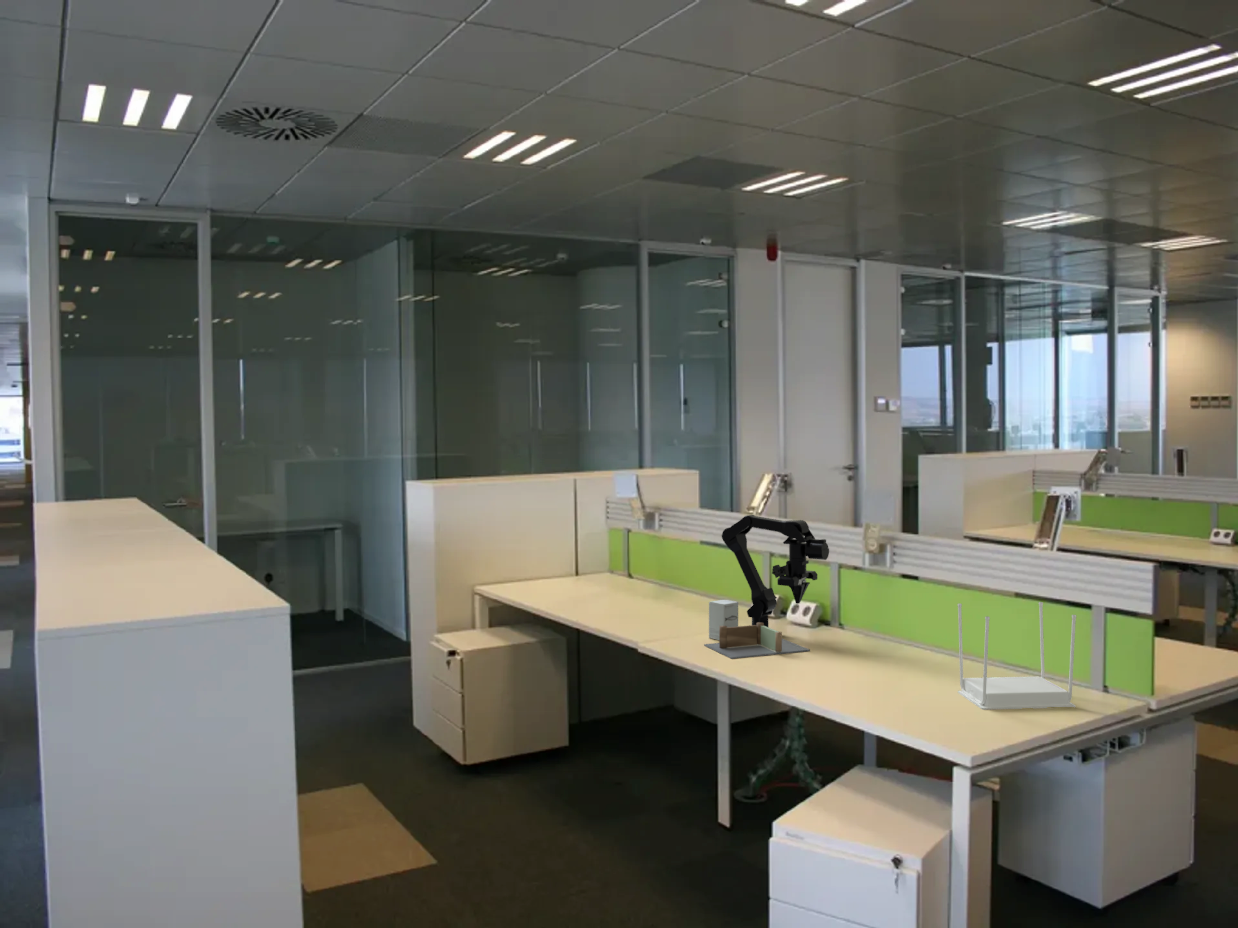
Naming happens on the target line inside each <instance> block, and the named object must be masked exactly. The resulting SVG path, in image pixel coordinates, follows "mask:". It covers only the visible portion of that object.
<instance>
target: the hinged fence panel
mask: <svg viewBox="0 0 1238 928" xmlns="http://www.w3.org/2000/svg"><path fill="white" fill-rule="evenodd" d="M782 639H783V632H782V631H778V630H775V629H773V628H772V627H769V626H768V627H766V626H761V644H762V645H764V646H766V647H769V648H771V649H773V650H775V651H777V652H781V651H782Z"/></svg>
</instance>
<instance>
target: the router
mask: <svg viewBox="0 0 1238 928" xmlns="http://www.w3.org/2000/svg"><path fill="white" fill-rule="evenodd" d="M962 605H963V604H962V603H957V615H958V616H957V617H958V645H959V646H958V650H959V654H958V656H959V686H960V689H961V690H957V694H958V695H960V696H962V697H963V698H964V699H966V700H968V701H969V702H970V703H972V704H973V705H975V706H976V707H977V708H979V709H980V710H984V711H985V710H986V711H988V710H990V711H991V710H1022V708H1033V709H1048V708H1047V707H1074V708H1076V704H1074V703H1072V702H1071V701H1072V697H1073V696H1072V695H1073V680H1074V662H1075V661H1074V660H1075V639H1076V638H1075V637H1076V622H1077V621H1076V619H1077V615H1076V614H1071V619H1072V620H1071V635H1070V651H1069V652H1070V653H1069V673H1068V674H1069V675H1068V676H1069V677H1068V690H1066V689H1064V688H1063V687H1060V686H1059V685H1057V684H1055V683H1054V682H1051V681H1049V680H1047V679H1046V678H1045V676H1046V675H1045V646H1044V643H1045V642H1044V617H1043V615H1044V614H1043V613H1044V611H1043V609H1044V608H1043V607H1044V606H1043V605H1044V602H1042V601H1039V602H1038V606H1039V607H1038V609H1039V640H1040V643H1039V645H1040V671H1041V672H1040V674H1041V676H1037V675H1036V676H1006V677H1005V676H1000V677H999V676H997V677H994V676H993V677H992V676H991V677H987V675H988V657H989V656H988V655H989V634H990V633H989V632H990V630H989V629H990V619H991V618H990V616H988V615H987V616H984V620H985V623H984V624H985V628H984V629H985V631H984V651H983V654H984V655H983V656H984V657H983V672H982V673H983V676H982V677H964V664H963V663H964V660H963V621H962V615H963V613H962Z"/></svg>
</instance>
